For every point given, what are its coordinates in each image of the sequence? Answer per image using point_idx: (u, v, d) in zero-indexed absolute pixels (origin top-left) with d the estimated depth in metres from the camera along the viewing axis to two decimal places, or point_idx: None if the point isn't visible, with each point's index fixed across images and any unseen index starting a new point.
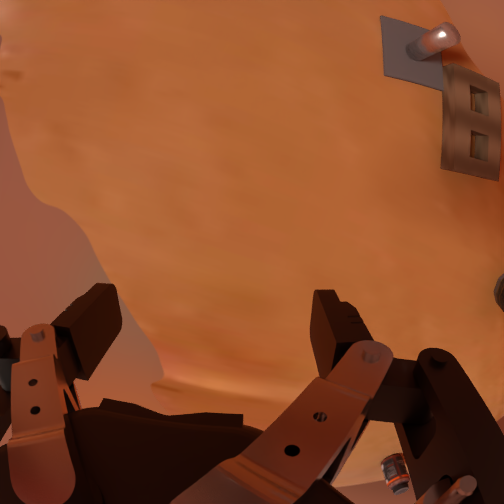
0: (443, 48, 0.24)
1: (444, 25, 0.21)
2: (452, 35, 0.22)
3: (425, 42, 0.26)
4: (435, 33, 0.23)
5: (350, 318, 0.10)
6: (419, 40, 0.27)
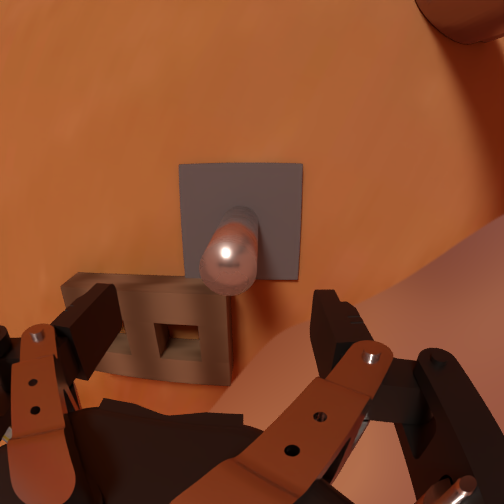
0: None
1: (243, 255, 0.15)
2: (222, 273, 0.16)
3: (225, 223, 0.19)
4: (226, 235, 0.17)
5: (350, 318, 0.10)
6: (235, 217, 0.20)
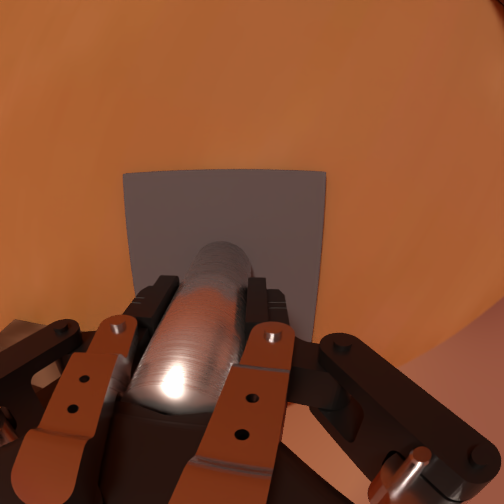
0: None
1: (209, 409, 0.06)
2: None
3: (184, 295, 0.10)
4: (175, 347, 0.07)
5: (274, 303, 0.11)
6: (206, 278, 0.11)
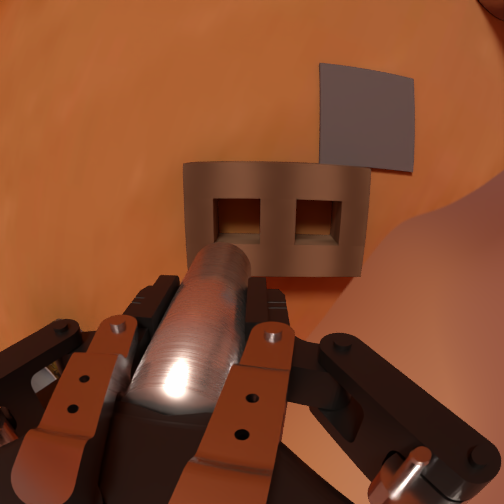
0: None
1: (209, 411, 0.06)
2: None
3: (184, 297, 0.10)
4: (175, 349, 0.07)
5: (275, 303, 0.11)
6: (206, 279, 0.11)
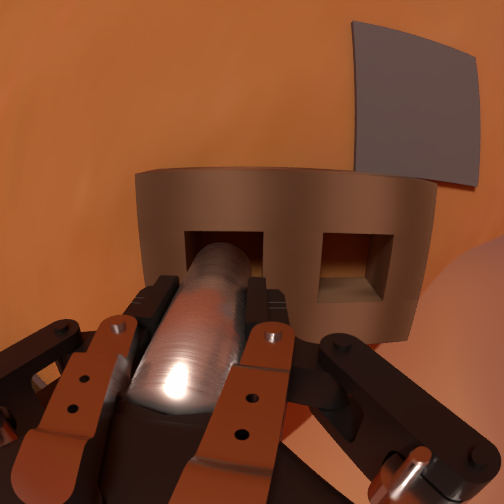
0: None
1: (209, 411, 0.06)
2: None
3: (184, 297, 0.10)
4: (175, 349, 0.07)
5: (275, 303, 0.11)
6: (206, 279, 0.11)
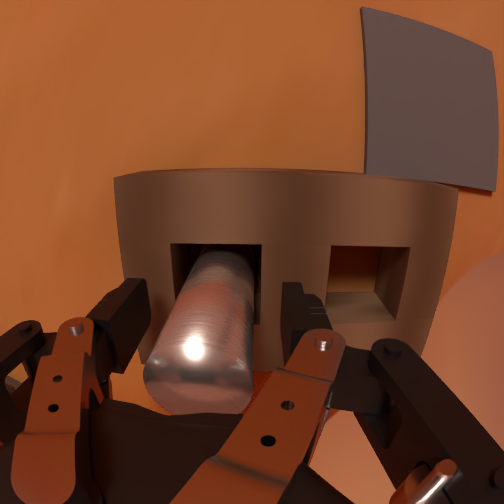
0: None
1: (224, 366, 0.07)
2: (187, 392, 0.08)
3: (197, 277, 0.11)
4: (193, 316, 0.08)
5: (313, 309, 0.10)
6: (216, 263, 0.12)
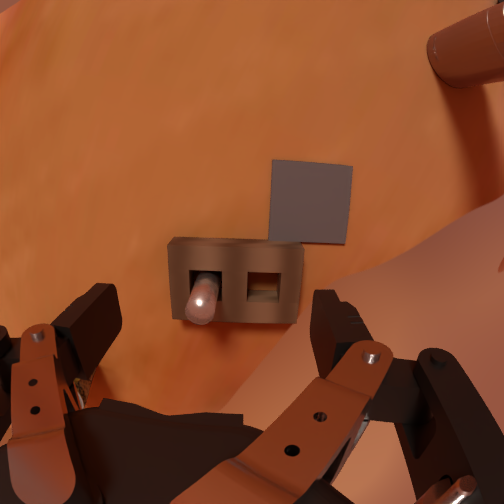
0: None
1: (207, 305, 0.30)
2: (197, 314, 0.30)
3: (199, 282, 0.34)
4: (199, 293, 0.31)
5: (350, 318, 0.10)
6: (205, 277, 0.35)
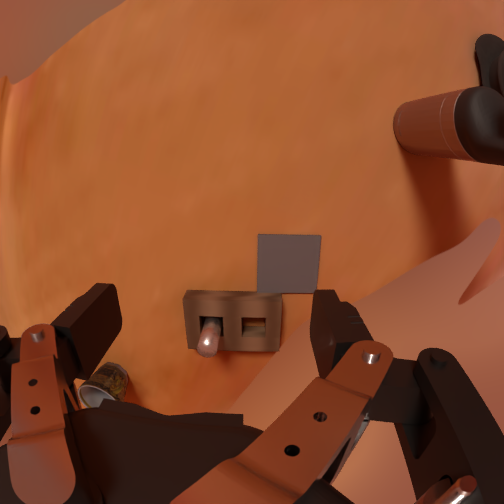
0: None
1: (211, 345, 0.43)
2: (205, 350, 0.44)
3: (206, 326, 0.47)
4: (206, 336, 0.44)
5: (350, 318, 0.10)
6: (211, 322, 0.48)
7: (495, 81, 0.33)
